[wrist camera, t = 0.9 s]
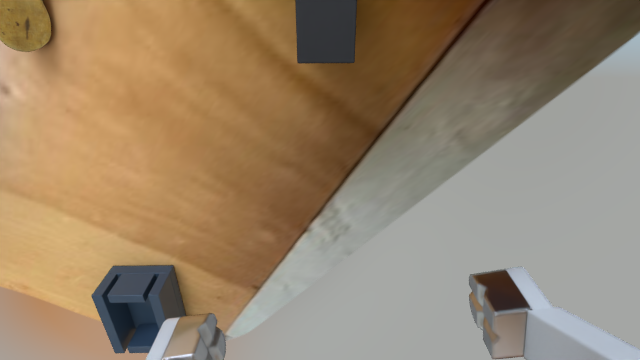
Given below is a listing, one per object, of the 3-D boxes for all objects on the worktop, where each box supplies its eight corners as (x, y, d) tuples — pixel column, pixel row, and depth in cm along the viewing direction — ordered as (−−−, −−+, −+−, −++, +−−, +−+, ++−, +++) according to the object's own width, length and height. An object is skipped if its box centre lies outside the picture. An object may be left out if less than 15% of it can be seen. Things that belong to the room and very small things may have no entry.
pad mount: (187, 320, 43) (175, 352, 39) (132, 321, 42) (114, 353, 39) (173, 265, 39) (158, 295, 35) (112, 265, 39) (91, 295, 35)
